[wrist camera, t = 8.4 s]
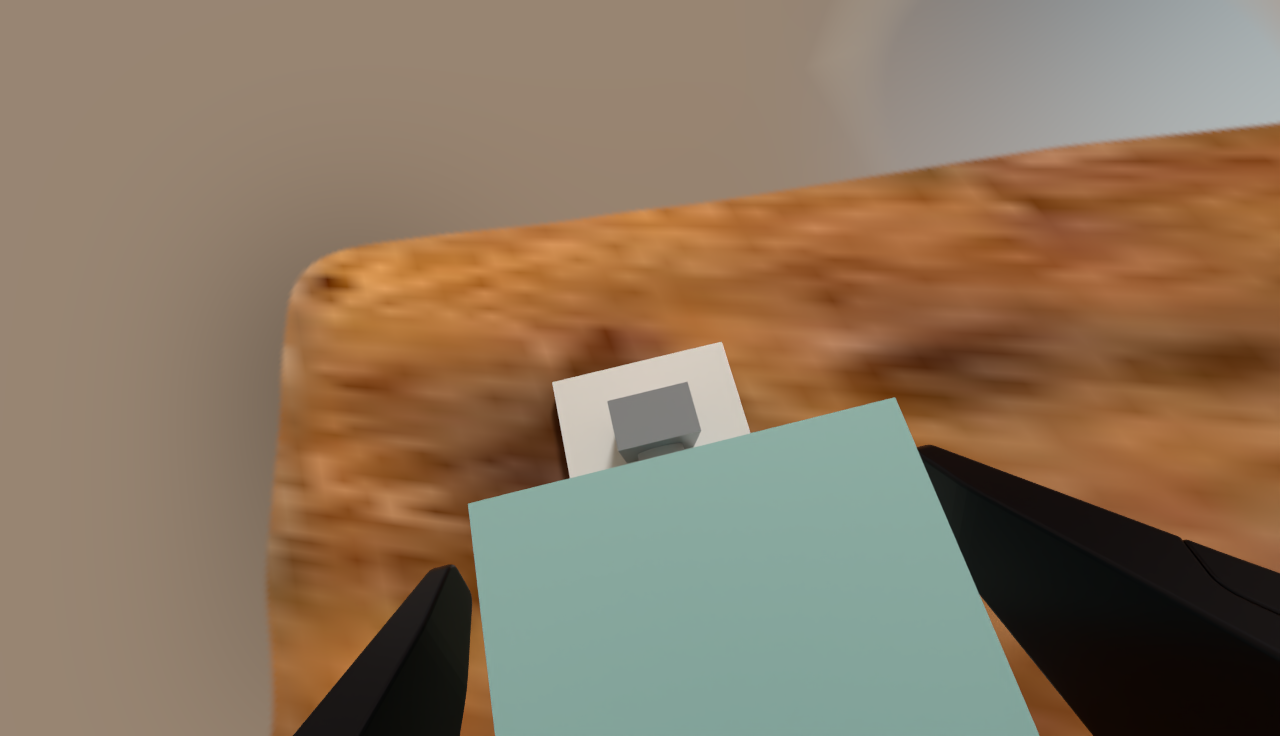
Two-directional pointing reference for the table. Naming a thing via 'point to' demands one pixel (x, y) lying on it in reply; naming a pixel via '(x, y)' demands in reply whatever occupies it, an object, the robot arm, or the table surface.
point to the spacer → (742, 595)
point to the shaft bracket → (648, 409)
